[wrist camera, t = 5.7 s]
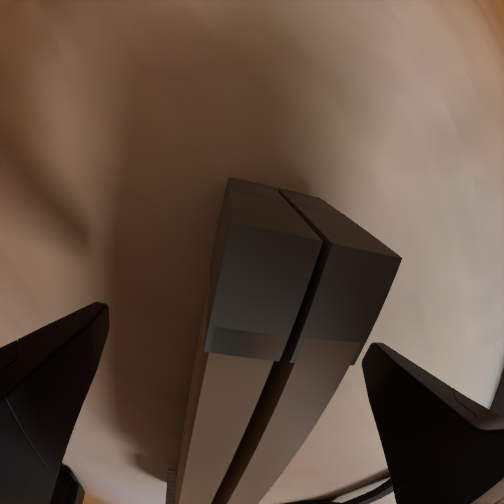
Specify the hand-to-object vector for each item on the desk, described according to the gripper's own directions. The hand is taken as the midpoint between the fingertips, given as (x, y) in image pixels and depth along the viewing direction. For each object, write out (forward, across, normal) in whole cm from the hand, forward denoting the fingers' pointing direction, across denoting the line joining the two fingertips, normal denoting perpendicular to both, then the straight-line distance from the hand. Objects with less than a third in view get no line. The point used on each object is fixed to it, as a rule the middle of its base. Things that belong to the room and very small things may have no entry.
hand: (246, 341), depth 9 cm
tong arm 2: (+2, +1, +5) cm, 5 cm away
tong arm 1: (+2, -1, +5) cm, 5 cm away
